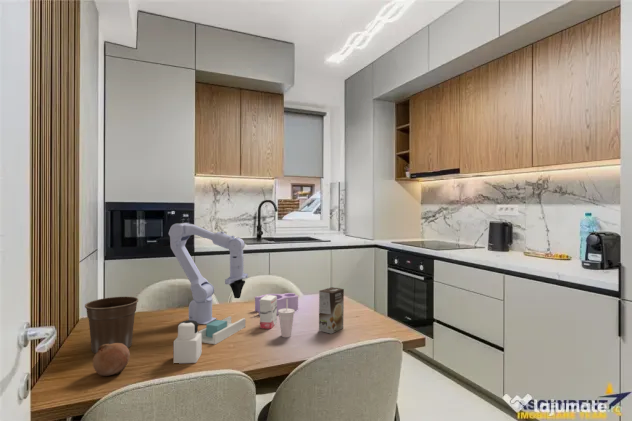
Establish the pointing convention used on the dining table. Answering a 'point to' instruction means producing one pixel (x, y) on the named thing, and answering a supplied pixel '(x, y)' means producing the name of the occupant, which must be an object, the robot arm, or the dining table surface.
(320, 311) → the coffee box
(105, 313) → the plant pot
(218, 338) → the chute
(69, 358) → the dining table surface
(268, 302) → the ink box
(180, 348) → the medicine bottle
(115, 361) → the brown rounded lump
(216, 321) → the block
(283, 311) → the smoothie
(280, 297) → the purple cup holder
